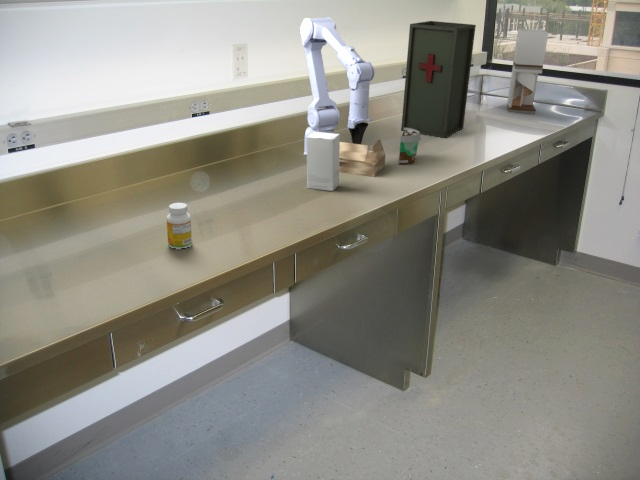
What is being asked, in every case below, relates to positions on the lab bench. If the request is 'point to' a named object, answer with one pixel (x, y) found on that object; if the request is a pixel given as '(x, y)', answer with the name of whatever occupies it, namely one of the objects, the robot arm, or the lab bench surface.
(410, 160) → the food container
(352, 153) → the flap
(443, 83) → the first aid box
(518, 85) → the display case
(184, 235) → the supplement bottle
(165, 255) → the lab bench surface
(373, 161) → the carton
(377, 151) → the flap
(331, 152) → the skincare box
